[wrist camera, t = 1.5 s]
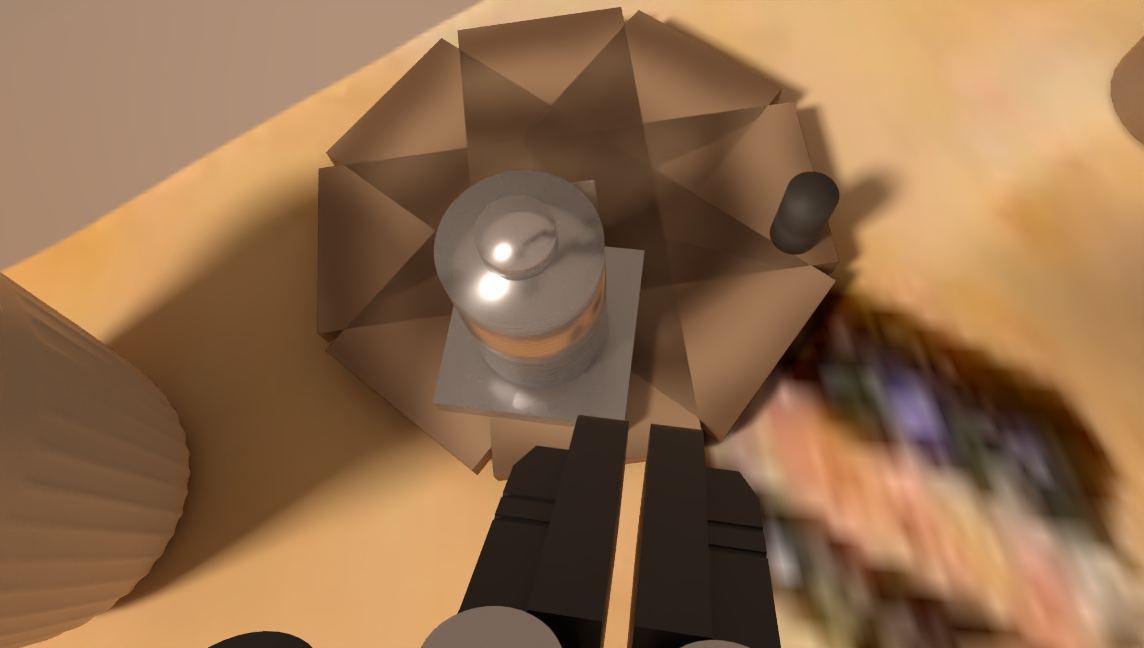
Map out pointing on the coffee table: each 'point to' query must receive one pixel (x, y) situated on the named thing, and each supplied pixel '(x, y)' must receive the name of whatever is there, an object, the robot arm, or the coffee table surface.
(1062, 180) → the coffee table surface
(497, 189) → the silver post on plate
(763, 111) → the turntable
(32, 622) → the canister
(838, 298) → the coffee table surface
